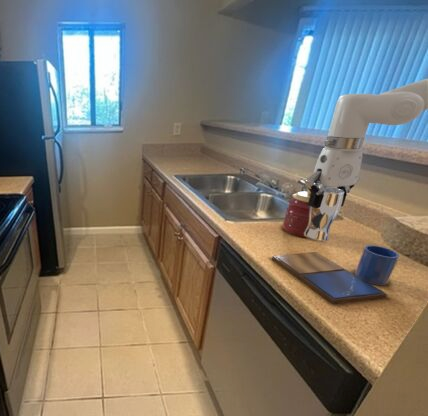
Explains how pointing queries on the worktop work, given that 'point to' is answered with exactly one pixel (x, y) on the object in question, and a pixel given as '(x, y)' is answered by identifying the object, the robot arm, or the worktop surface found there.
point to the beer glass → (324, 214)
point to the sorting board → (328, 278)
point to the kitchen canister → (297, 214)
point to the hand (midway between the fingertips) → (325, 205)
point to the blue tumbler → (376, 264)
